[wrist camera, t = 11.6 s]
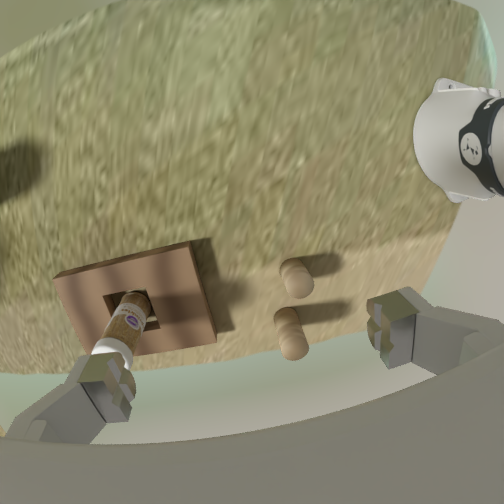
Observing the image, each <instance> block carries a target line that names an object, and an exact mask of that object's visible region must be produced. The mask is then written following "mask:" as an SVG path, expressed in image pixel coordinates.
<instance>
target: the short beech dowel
mask: <svg viewBox="0 0 504 504" xmlns="http://www.w3.org/2000/svg"><path fill="white" fill-rule="evenodd" d="M280 275H281V278H282V280H283V283H284V285H285V287H286V290H287V292H288V294H289V295H290V296H291V297H293V298H296V299H301V298H305V297H307V296H308V295H309V294H310V293H311V292H312V291H313V288H314V281H313V278H312V277H311V275H310V274H309V272H308V270H307V269H306V267H305V266H304V264H303V263H302V262H301V261H300V260H299V259H296V258H290V259H287V260H285V261H284V262H283V263H282V265H281V266H280Z"/></svg>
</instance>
